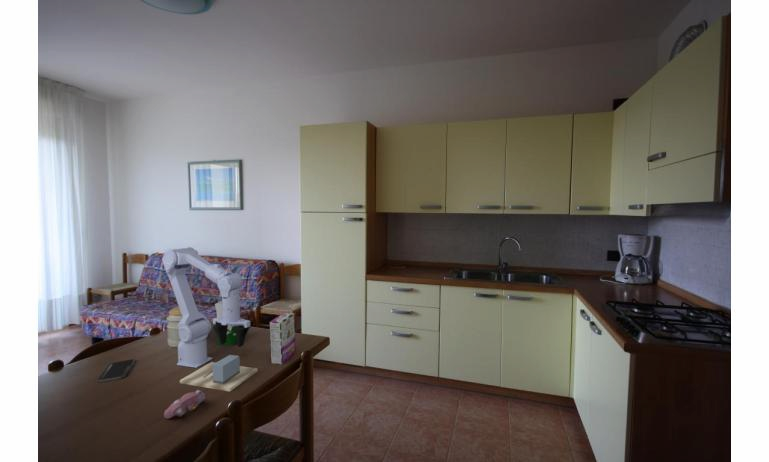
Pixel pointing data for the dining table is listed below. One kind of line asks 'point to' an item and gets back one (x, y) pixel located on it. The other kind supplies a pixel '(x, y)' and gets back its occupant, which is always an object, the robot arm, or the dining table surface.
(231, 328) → the milk carton
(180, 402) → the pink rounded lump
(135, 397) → the dining table surface
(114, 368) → the phone
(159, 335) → the dining table surface
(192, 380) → the marked board
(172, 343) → the jar
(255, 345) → the dining table surface
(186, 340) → the robot arm
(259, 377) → the dining table surface
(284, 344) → the candy bar box
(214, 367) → the block
